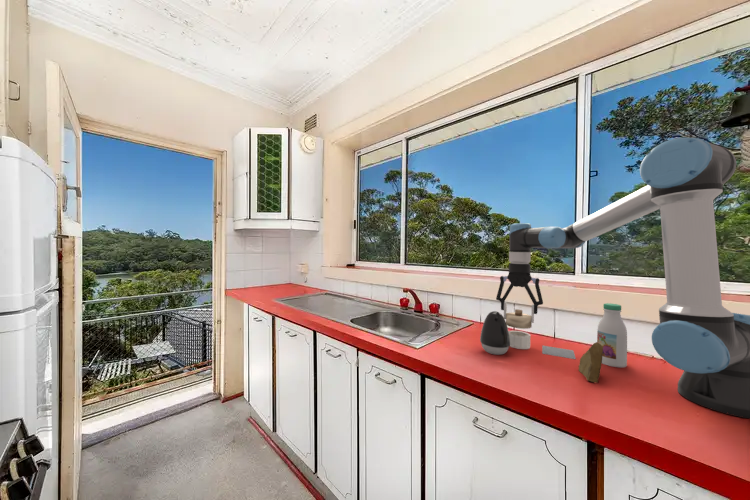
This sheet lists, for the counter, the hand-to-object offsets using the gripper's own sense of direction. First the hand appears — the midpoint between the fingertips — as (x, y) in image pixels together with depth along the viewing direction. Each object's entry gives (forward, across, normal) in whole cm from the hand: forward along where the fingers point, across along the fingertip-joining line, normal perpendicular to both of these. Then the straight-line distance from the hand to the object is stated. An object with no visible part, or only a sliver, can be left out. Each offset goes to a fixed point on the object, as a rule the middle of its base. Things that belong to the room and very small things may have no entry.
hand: (518, 320), depth 111 cm
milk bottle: (+10, -28, +2) cm, 30 cm away
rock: (+10, -20, +17) cm, 28 cm away
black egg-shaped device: (+10, +7, +12) cm, 17 cm away
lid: (+2, 0, 0) cm, 2 cm away
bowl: (+10, 0, 0) cm, 10 cm away
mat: (+10, -13, 0) cm, 17 cm away
